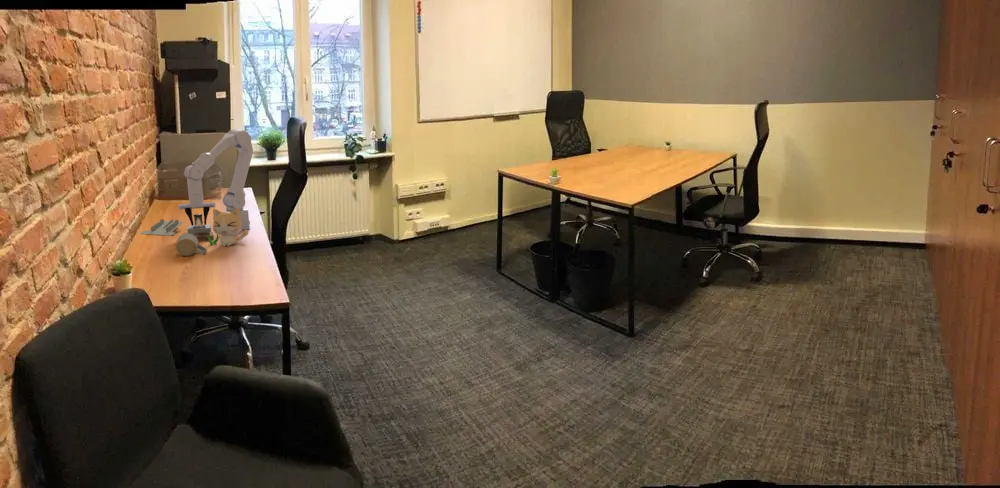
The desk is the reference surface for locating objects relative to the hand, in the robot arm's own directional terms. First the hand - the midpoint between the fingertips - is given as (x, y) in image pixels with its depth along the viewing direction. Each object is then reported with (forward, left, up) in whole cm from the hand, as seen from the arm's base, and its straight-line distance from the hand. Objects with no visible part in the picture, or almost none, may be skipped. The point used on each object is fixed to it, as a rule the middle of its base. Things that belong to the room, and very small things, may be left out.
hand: (198, 224), depth 301 cm
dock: (0, 0, -4) cm, 4 cm away
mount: (-2, +8, -4) cm, 10 cm away
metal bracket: (+15, -11, -5) cm, 19 cm away
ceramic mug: (+2, +33, -5) cm, 33 cm away
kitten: (-11, +22, -5) cm, 25 cm away
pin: (0, 0, -4) cm, 4 cm away
